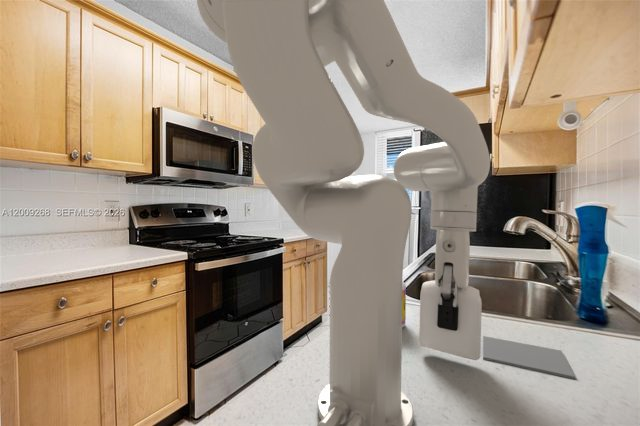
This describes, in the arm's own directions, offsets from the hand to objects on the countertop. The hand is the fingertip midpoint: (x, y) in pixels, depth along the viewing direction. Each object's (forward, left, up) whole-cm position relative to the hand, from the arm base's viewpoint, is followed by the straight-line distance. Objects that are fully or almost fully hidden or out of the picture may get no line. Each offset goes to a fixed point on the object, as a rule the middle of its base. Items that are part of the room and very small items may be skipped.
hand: (448, 322), depth 54 cm
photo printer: (0, 0, -5) cm, 5 cm away
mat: (+9, -12, -7) cm, 16 cm away
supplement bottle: (+11, +14, -7) cm, 19 cm away
